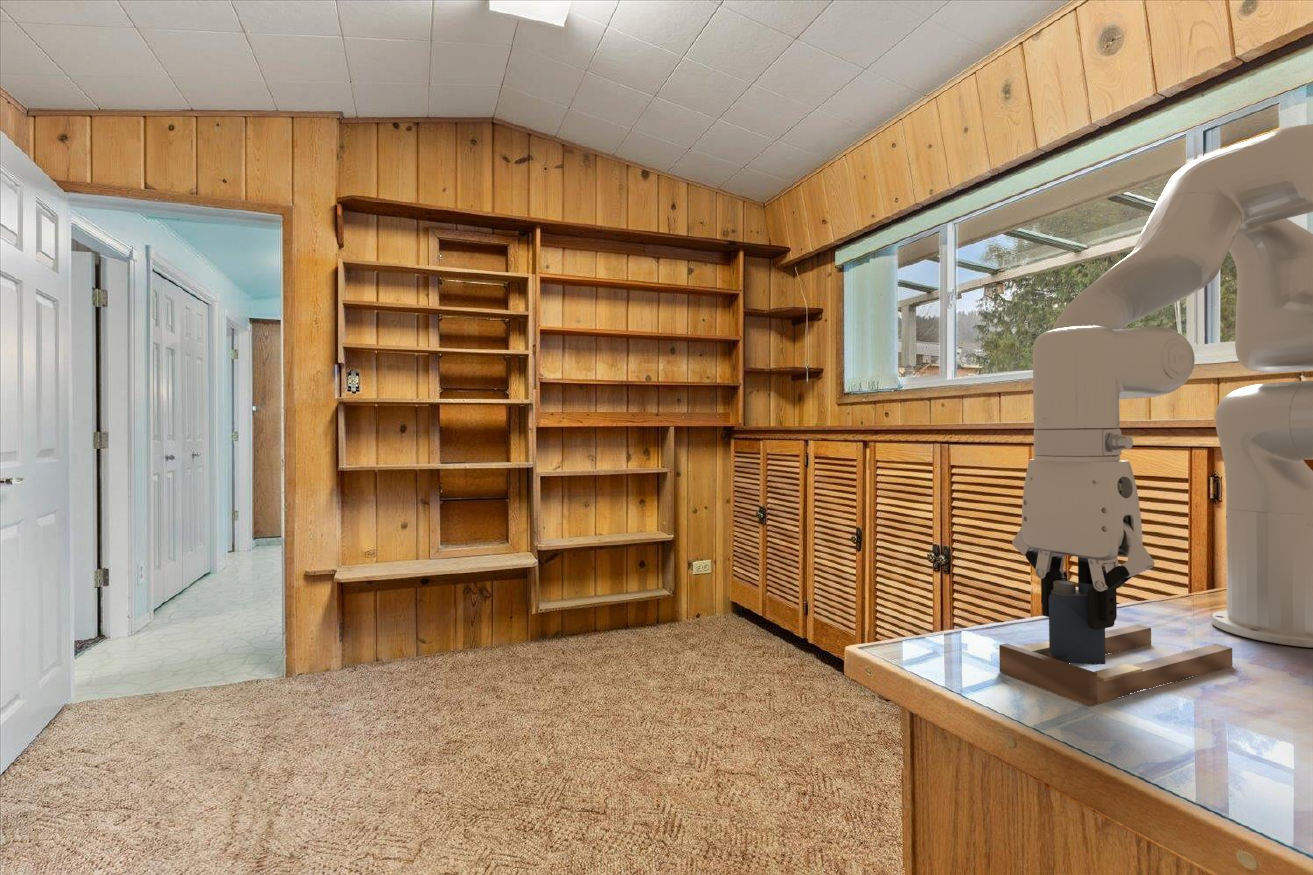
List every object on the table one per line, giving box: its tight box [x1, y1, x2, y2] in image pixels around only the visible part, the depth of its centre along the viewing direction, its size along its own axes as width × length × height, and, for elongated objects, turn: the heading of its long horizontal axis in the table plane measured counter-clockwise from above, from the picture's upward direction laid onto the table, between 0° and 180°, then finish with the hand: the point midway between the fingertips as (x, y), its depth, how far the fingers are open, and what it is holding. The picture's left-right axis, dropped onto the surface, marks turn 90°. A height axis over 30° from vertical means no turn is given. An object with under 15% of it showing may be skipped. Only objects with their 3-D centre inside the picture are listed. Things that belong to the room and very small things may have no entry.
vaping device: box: [1048, 557, 1106, 666], centre depth 66 cm, size 3×5×12 cm, turn 78°
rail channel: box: [998, 624, 1233, 707], centre depth 69 cm, size 24×10×3 cm, turn 113°
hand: (1077, 619), depth 66 cm, fingers closed on vaping device, 4 cm apart
